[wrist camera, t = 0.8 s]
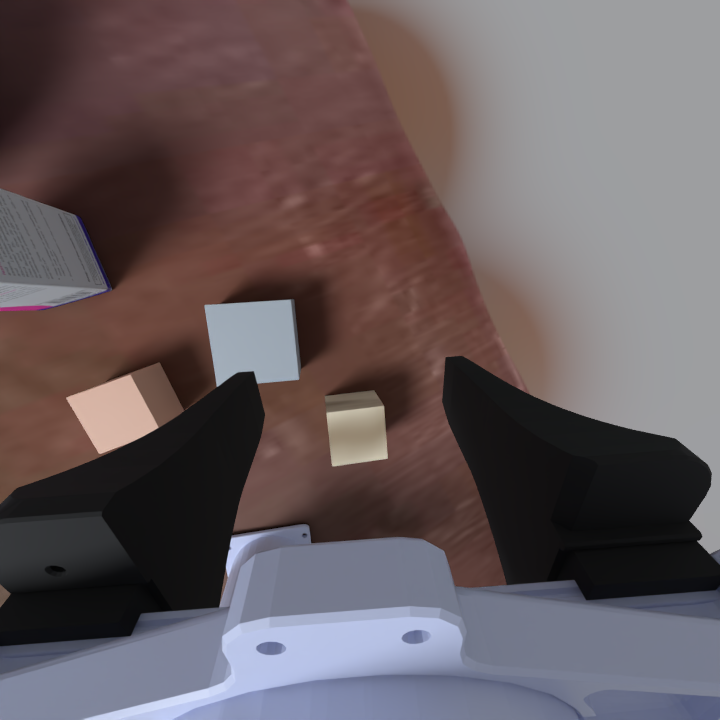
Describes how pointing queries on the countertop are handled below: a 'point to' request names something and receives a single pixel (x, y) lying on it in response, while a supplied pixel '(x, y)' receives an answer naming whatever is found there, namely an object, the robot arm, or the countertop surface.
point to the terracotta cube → (126, 407)
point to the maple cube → (356, 427)
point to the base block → (254, 340)
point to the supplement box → (45, 256)
